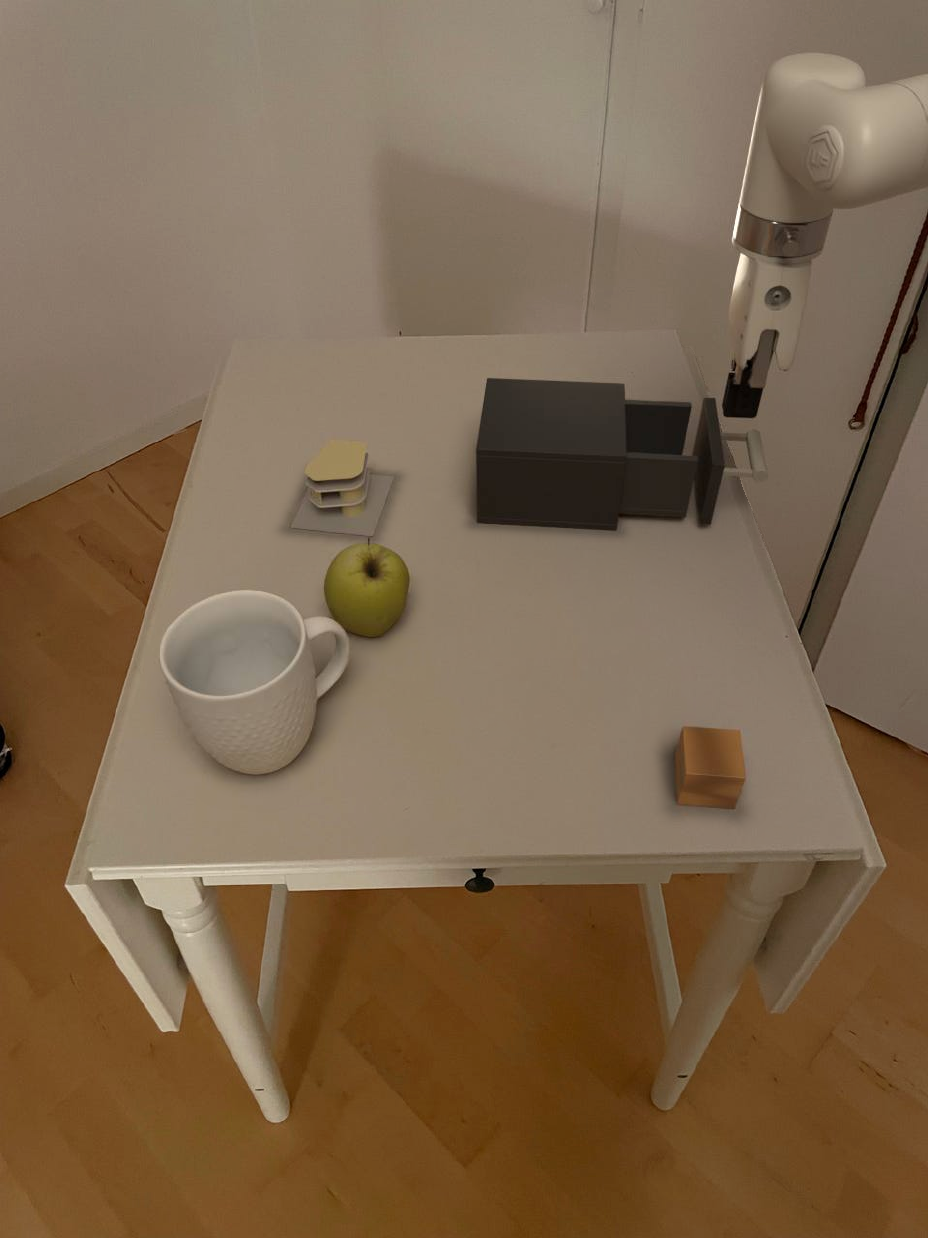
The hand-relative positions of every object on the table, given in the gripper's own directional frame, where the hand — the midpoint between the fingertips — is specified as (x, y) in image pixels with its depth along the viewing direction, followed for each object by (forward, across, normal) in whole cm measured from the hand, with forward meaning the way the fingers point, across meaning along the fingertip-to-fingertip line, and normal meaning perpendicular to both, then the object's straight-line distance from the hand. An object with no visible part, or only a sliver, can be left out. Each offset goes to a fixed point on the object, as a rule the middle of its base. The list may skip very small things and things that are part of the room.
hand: (738, 412), depth 90 cm
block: (+12, -36, +4) cm, 38 cm away
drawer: (+10, +1, +6) cm, 12 cm away
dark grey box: (+11, +1, +18) cm, 21 cm away
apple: (+11, -20, +34) cm, 41 cm away
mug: (+11, -34, +40) cm, 54 cm away
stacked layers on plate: (+11, -4, +40) cm, 42 cm away
